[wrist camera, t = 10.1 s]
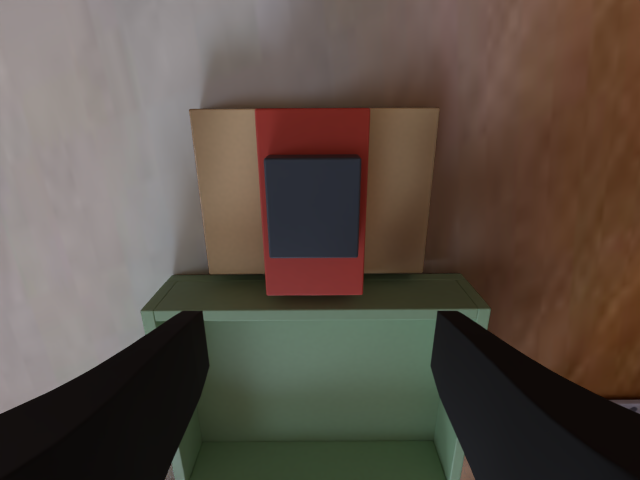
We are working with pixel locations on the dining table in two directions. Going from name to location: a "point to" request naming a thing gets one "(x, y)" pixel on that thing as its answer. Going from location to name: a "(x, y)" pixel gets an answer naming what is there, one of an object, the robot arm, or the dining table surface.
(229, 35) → the dining table surface
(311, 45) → the dining table surface
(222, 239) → the stand
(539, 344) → the dining table surface
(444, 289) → the crate
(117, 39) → the dining table surface
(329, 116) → the toy car
